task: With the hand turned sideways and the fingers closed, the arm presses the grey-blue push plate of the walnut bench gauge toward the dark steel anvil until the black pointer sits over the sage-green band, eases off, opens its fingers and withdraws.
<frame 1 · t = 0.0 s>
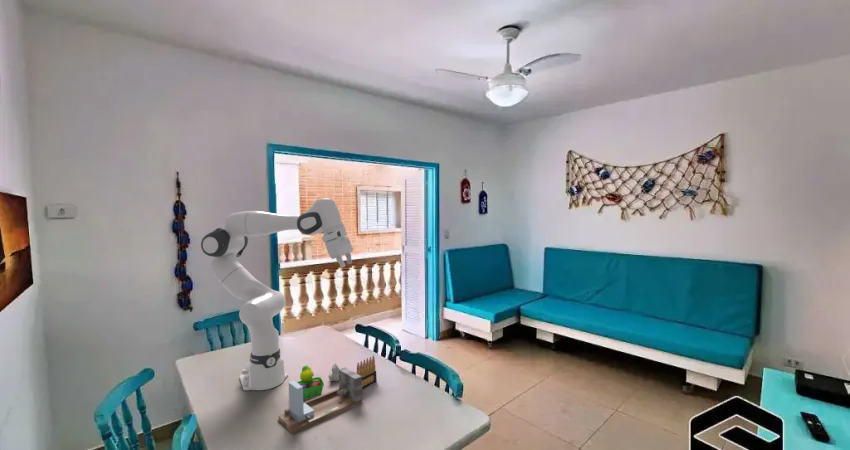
hand: (346, 265, 155), 52 cm above the table, tool tilted 20°, fingers open, 8 cm apart
grey figurine: (334, 381, 162), on the table
fruit basket: (308, 395, 150), on the table
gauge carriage: (303, 400, 131), point 8 cm above the table, slide at 0.0 cm
ammunition clip: (366, 386, 157), on the table
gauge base: (322, 411, 138), on the table
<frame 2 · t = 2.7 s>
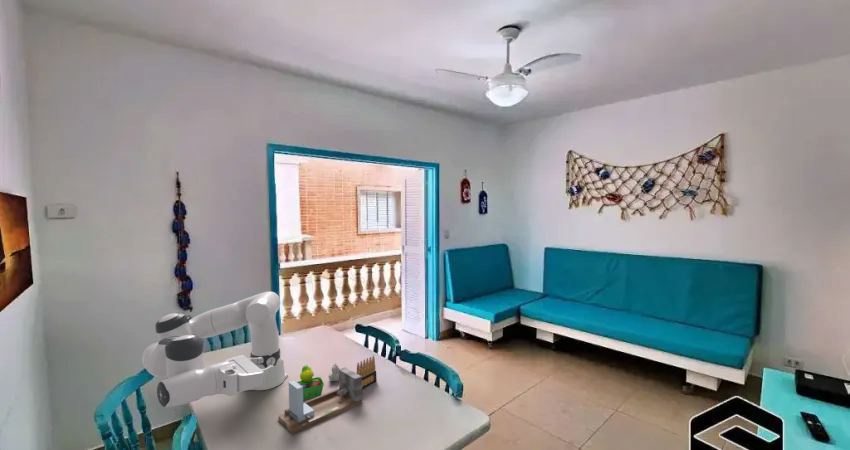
hand: (268, 363, 123), 24 cm above the table, tool horizontal, fingers open, 8 cm apart
nothing on the table moved.
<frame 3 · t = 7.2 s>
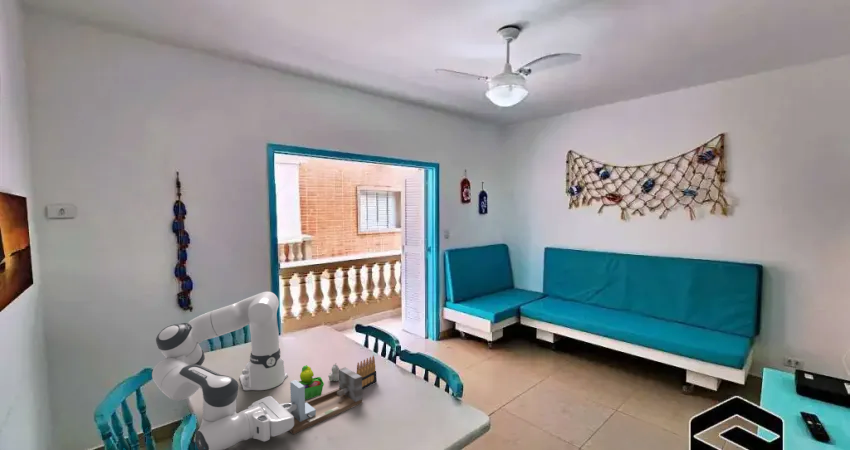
hand: (295, 404, 130), 6 cm above the table, tool horizontal, fingers closed, pressing on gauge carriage
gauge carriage: (304, 399, 131), point 8 cm above the table, slide at 0.6 cm, touching gripper
everything else where it was.
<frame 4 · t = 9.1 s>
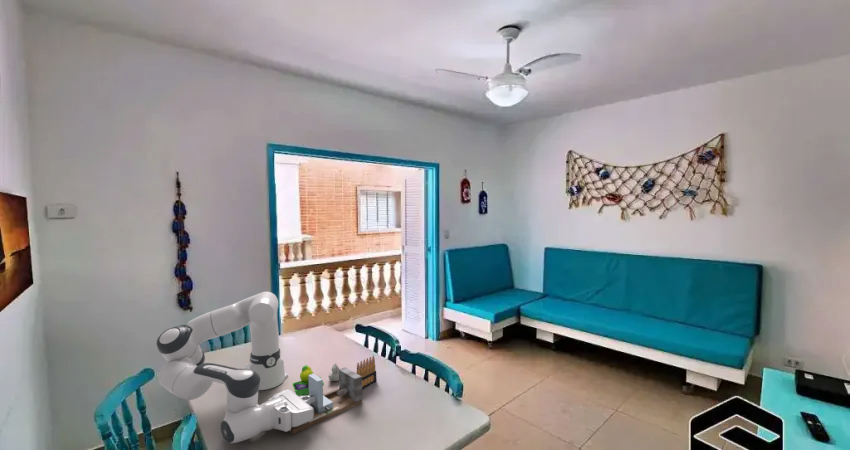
hand: (313, 397, 135), 6 cm above the table, tool horizontal, fingers closed, pressing on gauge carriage
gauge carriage: (322, 392, 136), point 8 cm above the table, slide at 7.6 cm, touching gripper
everything else where it was.
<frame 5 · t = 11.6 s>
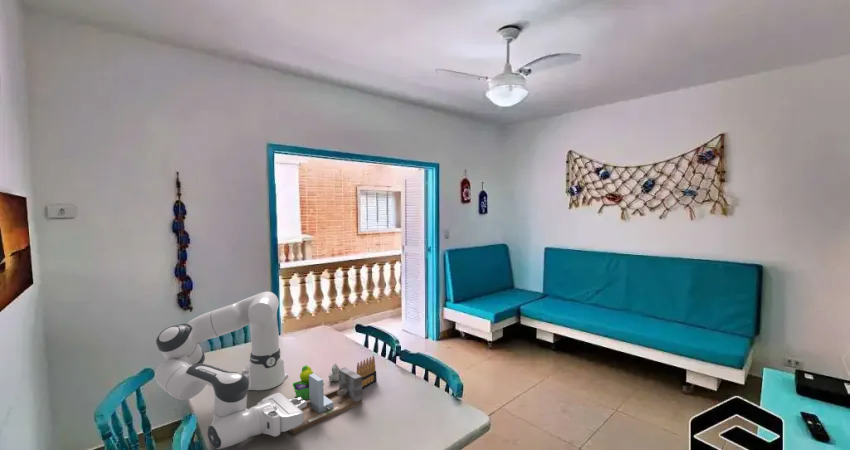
hand: (303, 401, 132), 6 cm above the table, tool horizontal, fingers closed
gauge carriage: (322, 392, 136), point 8 cm above the table, slide at 7.8 cm
everything else where it was.
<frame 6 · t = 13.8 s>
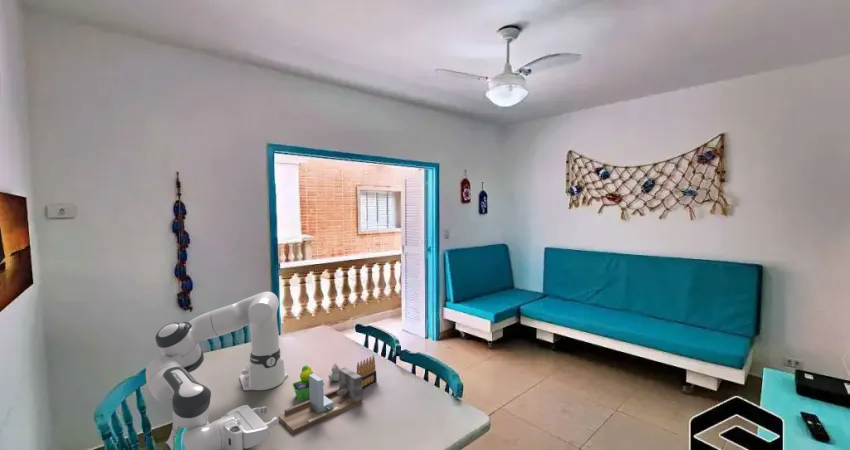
hand: (272, 414, 124), 6 cm above the table, tool horizontal, fingers open, 8 cm apart
nothing on the table moved.
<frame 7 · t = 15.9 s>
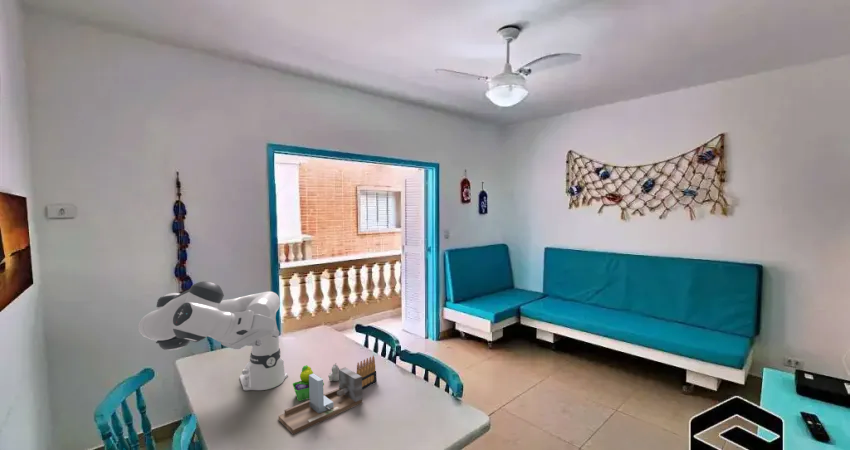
hand: (269, 339, 126), 31 cm above the table, tool tilted 60°, fingers open, 8 cm apart
nothing on the table moved.
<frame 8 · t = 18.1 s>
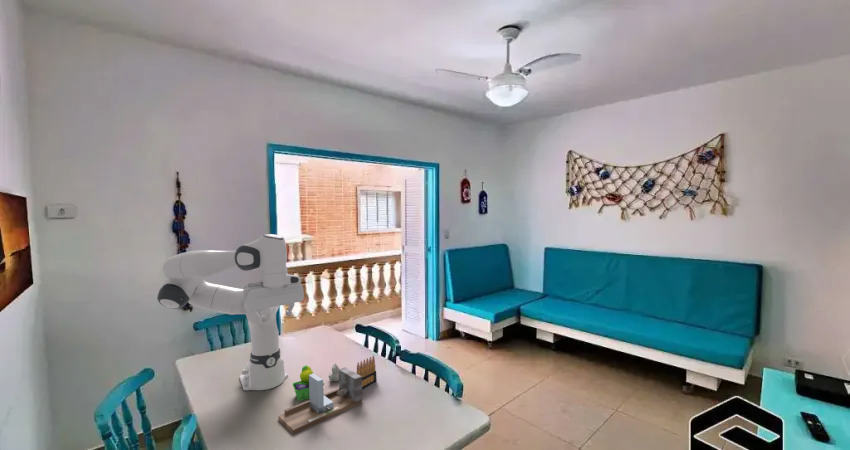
hand: (275, 318, 131), 37 cm above the table, tool pointing down, fingers open, 8 cm apart
nothing on the table moved.
at the end: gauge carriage slide at 7.8 cm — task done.
